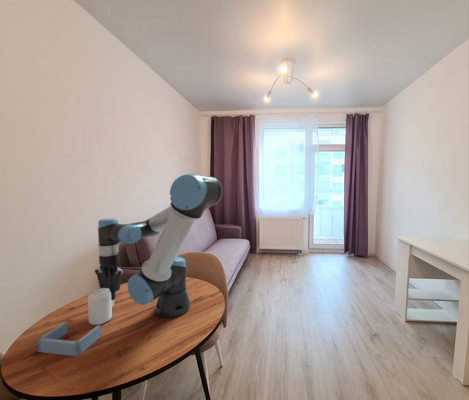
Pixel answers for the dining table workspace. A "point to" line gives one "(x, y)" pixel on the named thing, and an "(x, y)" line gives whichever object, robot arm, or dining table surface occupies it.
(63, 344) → the corral
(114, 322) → the dining table surface
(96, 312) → the beverage can
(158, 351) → the dining table surface
